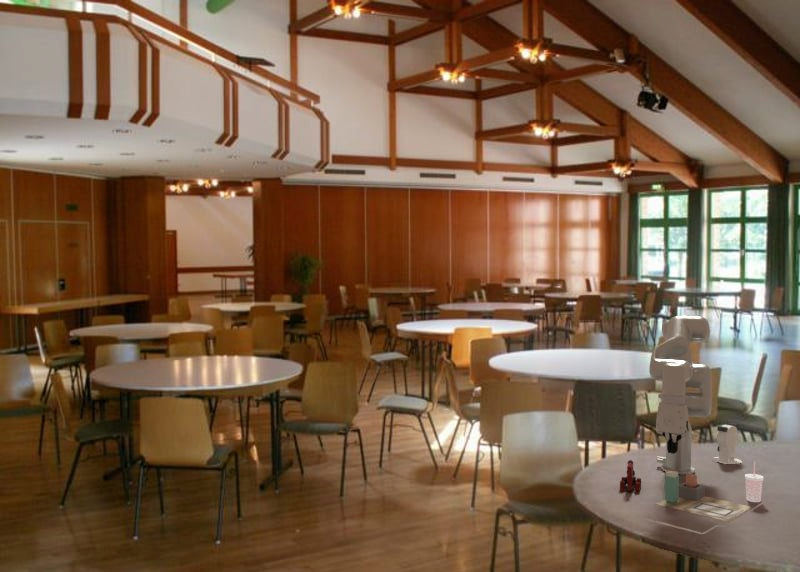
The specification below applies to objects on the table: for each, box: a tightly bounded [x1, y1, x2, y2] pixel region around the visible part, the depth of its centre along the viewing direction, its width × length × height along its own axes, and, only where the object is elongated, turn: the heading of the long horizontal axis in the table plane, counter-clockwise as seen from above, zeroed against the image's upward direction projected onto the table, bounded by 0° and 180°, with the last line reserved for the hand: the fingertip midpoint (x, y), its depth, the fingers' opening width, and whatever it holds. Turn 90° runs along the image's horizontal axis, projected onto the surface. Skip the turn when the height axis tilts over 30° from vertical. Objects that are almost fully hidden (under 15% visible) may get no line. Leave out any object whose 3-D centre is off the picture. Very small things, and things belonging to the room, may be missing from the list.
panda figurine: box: [713, 422, 743, 465], centre depth 335 cm, size 12×11×15 cm
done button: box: [685, 473, 698, 488], centre depth 286 cm, size 4×4×5 cm
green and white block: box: [664, 471, 680, 504], centre depth 279 cm, size 3×3×11 cm
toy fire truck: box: [619, 460, 642, 494], centre depth 296 cm, size 7×12×10 cm, turn 160°
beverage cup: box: [744, 461, 764, 503], centre depth 283 cm, size 6×6×14 cm
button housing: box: [679, 481, 706, 501], centre depth 286 cm, size 7×7×4 cm
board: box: [654, 495, 752, 524], centre depth 277 cm, size 25×20×1 cm
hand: (672, 452), depth 279 cm, fingers closed
